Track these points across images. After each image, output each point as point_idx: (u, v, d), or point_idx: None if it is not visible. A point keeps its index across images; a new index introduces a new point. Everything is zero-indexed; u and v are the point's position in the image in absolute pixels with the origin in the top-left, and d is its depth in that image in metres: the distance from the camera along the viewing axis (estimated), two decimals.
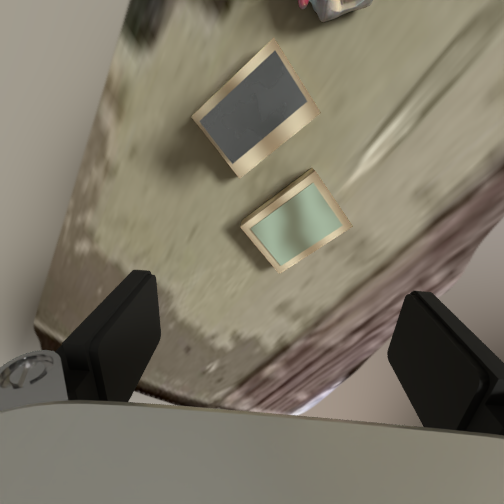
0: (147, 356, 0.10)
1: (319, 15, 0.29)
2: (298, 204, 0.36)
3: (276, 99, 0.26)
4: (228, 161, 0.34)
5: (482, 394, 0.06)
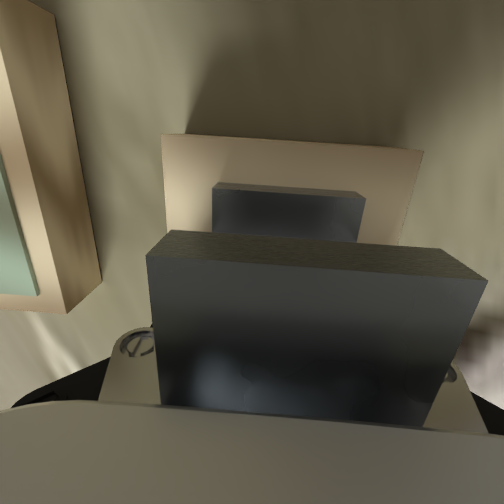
0: None
1: None
2: None
3: None
4: (231, 145, 0.10)
5: None
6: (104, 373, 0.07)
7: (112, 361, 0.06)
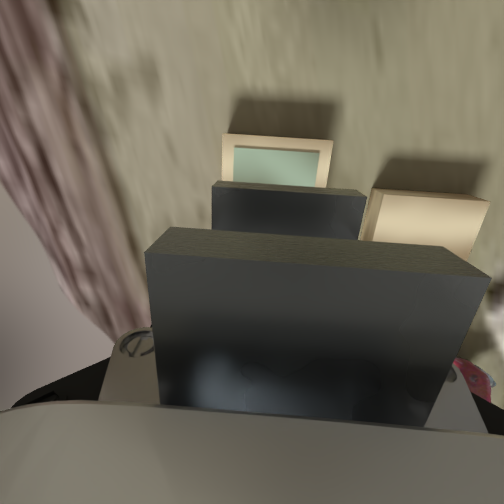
0: None
1: None
2: None
3: None
4: (412, 199, 0.24)
5: None
6: (104, 373, 0.07)
7: (112, 361, 0.06)
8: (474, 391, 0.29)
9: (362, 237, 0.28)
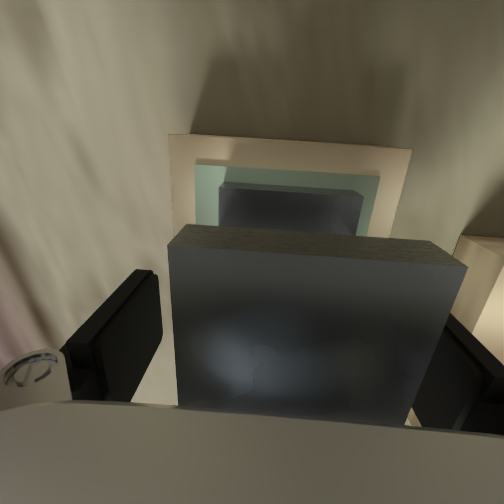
0: (149, 355, 0.10)
1: None
2: None
3: None
4: None
5: (478, 392, 0.07)
6: None
7: None
8: None
9: None
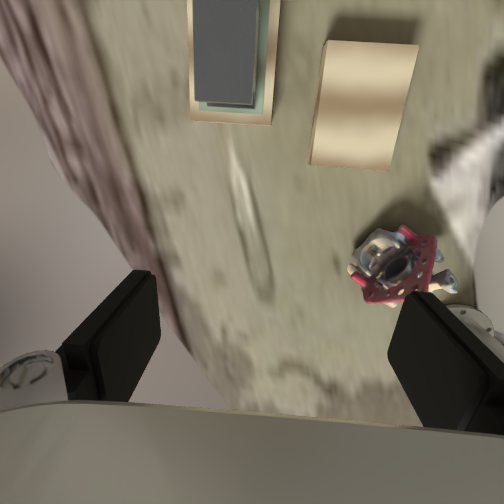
0: (147, 356, 0.10)
1: (382, 229, 0.37)
2: None
3: (216, 73, 0.23)
4: (352, 44, 0.28)
5: (482, 394, 0.06)
6: None
7: None
8: (423, 250, 0.33)
9: (316, 98, 0.32)
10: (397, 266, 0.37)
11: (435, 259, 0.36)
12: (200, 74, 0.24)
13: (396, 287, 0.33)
